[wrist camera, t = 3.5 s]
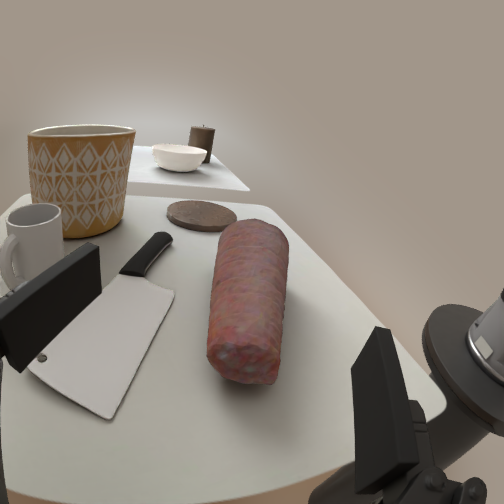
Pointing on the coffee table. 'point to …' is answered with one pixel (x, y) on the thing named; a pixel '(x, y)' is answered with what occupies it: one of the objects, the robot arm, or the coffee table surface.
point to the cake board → (200, 216)
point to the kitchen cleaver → (108, 336)
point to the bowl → (178, 157)
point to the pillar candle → (202, 140)
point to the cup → (31, 242)
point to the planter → (81, 174)
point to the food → (248, 302)
